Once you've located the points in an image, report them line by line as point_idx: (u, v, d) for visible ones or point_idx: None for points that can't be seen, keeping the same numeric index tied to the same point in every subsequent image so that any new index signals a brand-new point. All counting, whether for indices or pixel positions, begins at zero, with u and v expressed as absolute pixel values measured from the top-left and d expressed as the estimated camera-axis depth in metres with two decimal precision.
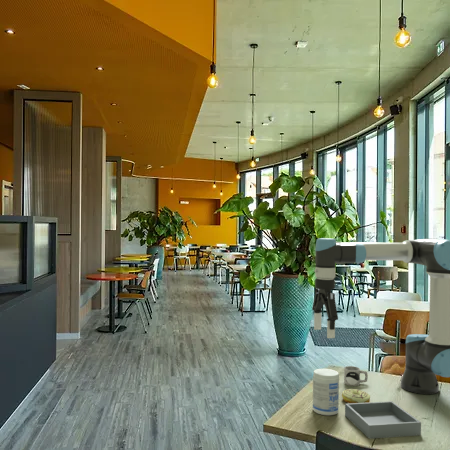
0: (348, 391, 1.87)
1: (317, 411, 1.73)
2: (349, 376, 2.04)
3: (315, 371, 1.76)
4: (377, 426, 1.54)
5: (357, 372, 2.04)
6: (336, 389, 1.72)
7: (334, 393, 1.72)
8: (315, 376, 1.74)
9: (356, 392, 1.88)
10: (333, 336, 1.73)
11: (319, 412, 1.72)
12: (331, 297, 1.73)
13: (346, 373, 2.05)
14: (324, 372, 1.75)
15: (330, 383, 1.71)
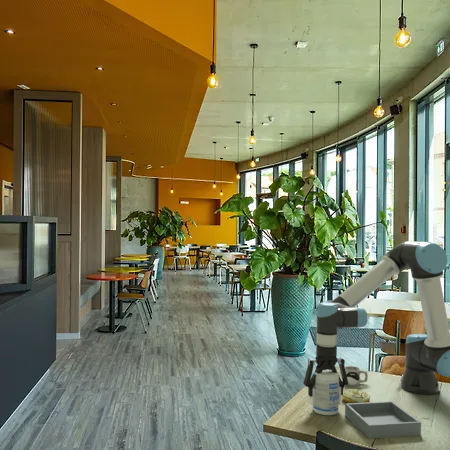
0: (348, 391, 1.87)
1: (317, 411, 1.73)
2: (349, 376, 2.04)
3: None
4: (377, 426, 1.54)
5: (357, 372, 2.04)
6: (336, 389, 1.72)
7: (334, 393, 1.72)
8: None
9: (356, 392, 1.88)
10: (312, 404, 1.74)
11: (319, 412, 1.72)
12: (309, 363, 1.75)
13: (346, 373, 2.05)
14: (324, 372, 1.75)
15: (330, 383, 1.71)
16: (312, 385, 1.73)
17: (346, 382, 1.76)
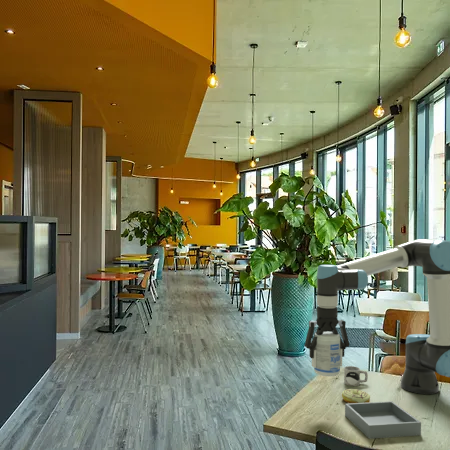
0: (348, 391, 1.87)
1: (319, 372, 1.73)
2: (349, 376, 2.04)
3: None
4: (377, 426, 1.54)
5: (357, 372, 2.04)
6: (337, 350, 1.72)
7: (335, 354, 1.72)
8: None
9: (356, 392, 1.88)
10: (313, 365, 1.74)
11: (321, 373, 1.72)
12: (309, 325, 1.74)
13: (346, 373, 2.05)
14: (325, 334, 1.75)
15: (331, 344, 1.71)
16: (313, 347, 1.73)
17: (347, 344, 1.76)
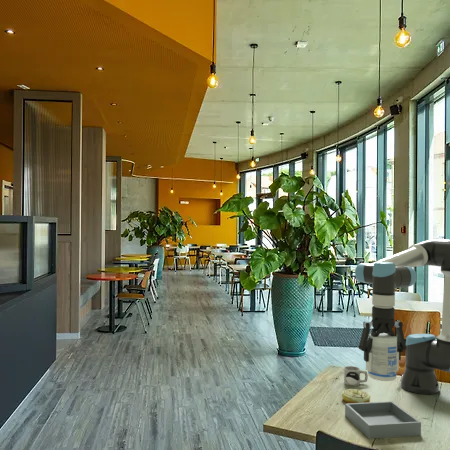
0: (348, 391, 1.87)
1: (374, 377, 1.61)
2: (349, 376, 2.04)
3: None
4: (377, 426, 1.54)
5: (357, 372, 2.04)
6: (395, 353, 1.61)
7: (393, 357, 1.60)
8: None
9: (356, 392, 1.88)
10: (368, 369, 1.63)
11: (377, 378, 1.61)
12: (364, 326, 1.63)
13: (346, 373, 2.05)
14: (381, 336, 1.64)
15: (388, 347, 1.60)
16: (368, 349, 1.62)
17: (404, 346, 1.64)
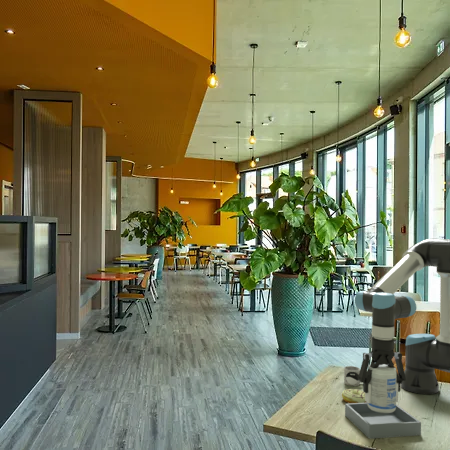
0: (348, 391, 1.87)
1: (374, 409, 1.61)
2: (349, 376, 2.04)
3: None
4: (377, 426, 1.54)
5: (357, 372, 2.04)
6: (394, 385, 1.61)
7: (392, 389, 1.60)
8: None
9: (356, 392, 1.88)
10: (368, 401, 1.63)
11: (376, 410, 1.61)
12: (364, 357, 1.63)
13: (346, 373, 2.05)
14: (380, 367, 1.64)
15: (388, 379, 1.60)
16: (368, 381, 1.62)
17: (403, 378, 1.64)
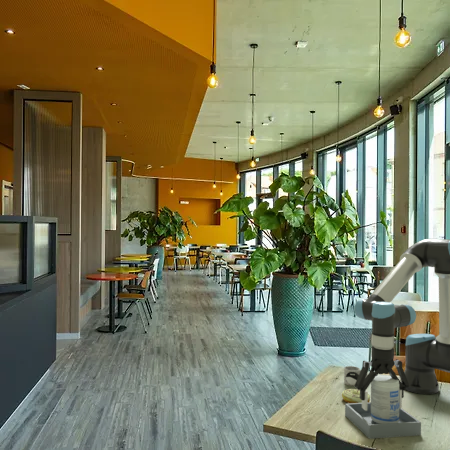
0: (348, 391, 1.87)
1: (377, 421, 1.62)
2: (349, 376, 2.04)
3: None
4: (377, 426, 1.54)
5: (357, 372, 2.04)
6: (397, 397, 1.61)
7: (395, 401, 1.61)
8: (374, 383, 1.63)
9: (356, 392, 1.88)
10: (364, 408, 1.62)
11: (379, 422, 1.61)
12: (363, 365, 1.63)
13: (346, 373, 2.05)
14: (383, 379, 1.64)
15: (391, 391, 1.60)
16: (365, 388, 1.62)
17: (407, 384, 1.65)
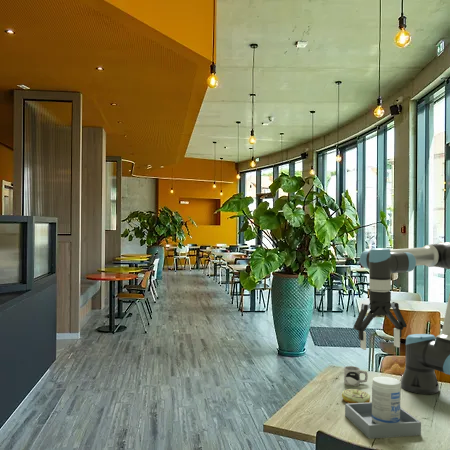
0: (348, 391, 1.87)
1: (378, 422, 1.62)
2: (349, 376, 2.04)
3: (374, 379, 1.66)
4: (377, 426, 1.54)
5: (357, 372, 2.04)
6: (398, 399, 1.61)
7: (396, 403, 1.61)
8: (375, 385, 1.63)
9: (356, 392, 1.88)
10: (363, 347, 1.71)
11: (380, 423, 1.61)
12: (362, 308, 1.72)
13: (346, 373, 2.05)
14: (384, 380, 1.64)
15: (392, 393, 1.60)
16: (363, 329, 1.70)
17: (404, 324, 1.74)
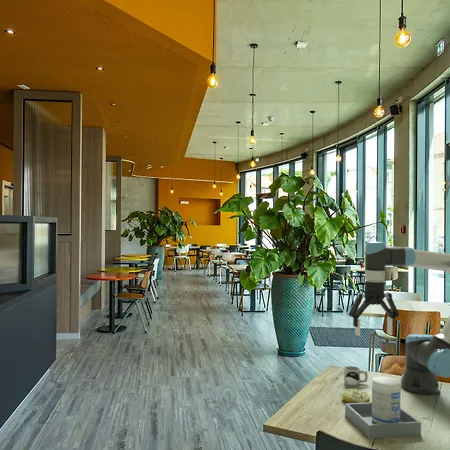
0: (348, 391, 1.87)
1: (378, 422, 1.62)
2: (349, 376, 2.04)
3: (374, 379, 1.66)
4: (377, 426, 1.54)
5: (357, 372, 2.04)
6: (398, 399, 1.61)
7: (396, 403, 1.61)
8: (375, 385, 1.63)
9: (356, 392, 1.88)
10: (357, 334, 1.83)
11: (380, 423, 1.61)
12: (357, 296, 1.84)
13: (346, 373, 2.05)
14: (384, 380, 1.64)
15: (392, 393, 1.60)
16: (358, 316, 1.83)
17: (397, 314, 1.86)
